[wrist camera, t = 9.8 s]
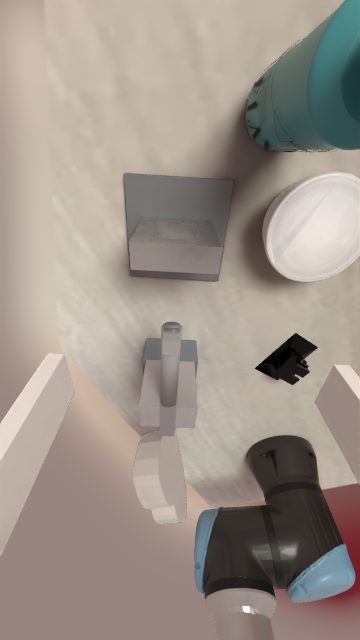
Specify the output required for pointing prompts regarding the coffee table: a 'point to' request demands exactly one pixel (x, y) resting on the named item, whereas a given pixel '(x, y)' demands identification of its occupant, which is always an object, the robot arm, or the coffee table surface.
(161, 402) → the vise
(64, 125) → the coffee table surface
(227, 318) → the coffee table surface
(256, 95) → the beverage bottle
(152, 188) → the mat
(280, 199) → the ramekin
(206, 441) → the coffee table surface
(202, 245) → the ring
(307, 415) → the coffee table surface
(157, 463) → the heart sculpture
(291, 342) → the black phone stand
